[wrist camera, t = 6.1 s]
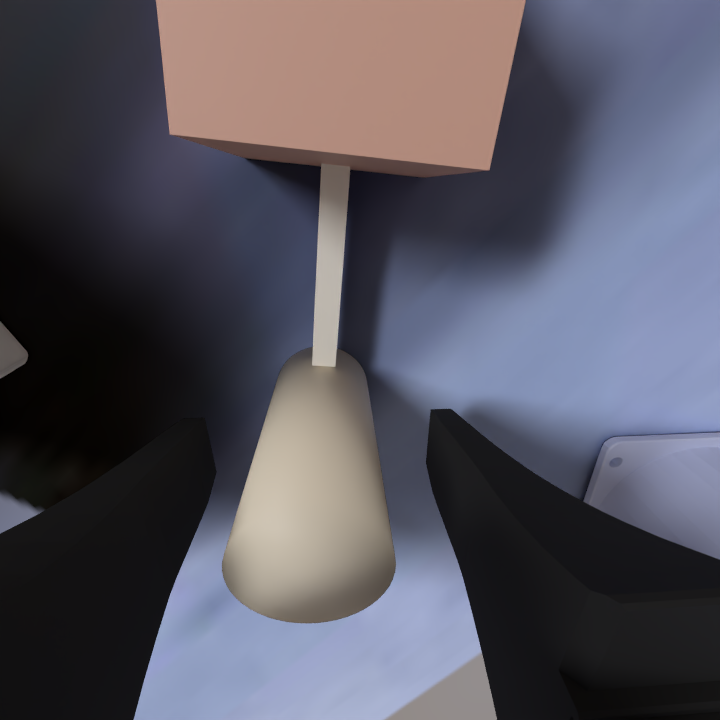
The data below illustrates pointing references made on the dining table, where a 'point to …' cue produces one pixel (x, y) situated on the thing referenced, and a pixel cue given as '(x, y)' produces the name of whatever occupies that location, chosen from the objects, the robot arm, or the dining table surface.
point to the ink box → (10, 352)
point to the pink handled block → (331, 240)
